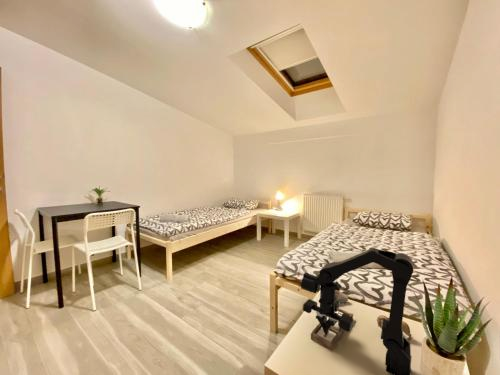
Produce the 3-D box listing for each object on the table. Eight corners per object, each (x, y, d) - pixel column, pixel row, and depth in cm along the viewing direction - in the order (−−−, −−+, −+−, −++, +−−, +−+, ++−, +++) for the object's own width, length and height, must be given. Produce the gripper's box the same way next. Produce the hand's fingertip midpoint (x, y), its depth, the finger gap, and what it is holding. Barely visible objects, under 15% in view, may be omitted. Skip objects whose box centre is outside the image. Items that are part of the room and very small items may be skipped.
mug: (351, 306, 109) (343, 291, 107) (332, 311, 112) (324, 296, 110) (348, 295, 116) (340, 280, 114) (331, 299, 119) (323, 285, 117)
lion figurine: (381, 342, 86) (382, 320, 85) (372, 332, 91) (373, 312, 90) (416, 340, 87) (417, 319, 86) (405, 331, 92) (407, 311, 91)
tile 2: (342, 323, 93) (343, 320, 93) (337, 331, 89) (338, 327, 88) (329, 317, 97) (329, 314, 97) (323, 324, 93) (323, 320, 92)
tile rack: (352, 319, 99) (353, 314, 99) (333, 351, 81) (333, 345, 81) (333, 310, 105) (333, 306, 105) (310, 339, 87) (310, 333, 87)
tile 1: (336, 337, 87) (336, 333, 87) (330, 346, 83) (330, 342, 83) (321, 330, 91) (322, 326, 91) (315, 338, 87) (315, 334, 87)
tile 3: (348, 318, 99) (348, 315, 99) (343, 325, 94) (344, 321, 94) (335, 312, 103) (335, 309, 103) (330, 319, 98) (330, 315, 98)
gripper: (358, 297, 86) (357, 334, 87) (314, 281, 98) (313, 314, 99) (350, 310, 78) (348, 351, 79) (302, 291, 90) (301, 326, 91)
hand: (326, 333), depth 87 cm, fingers closed, pressing on tile 1
